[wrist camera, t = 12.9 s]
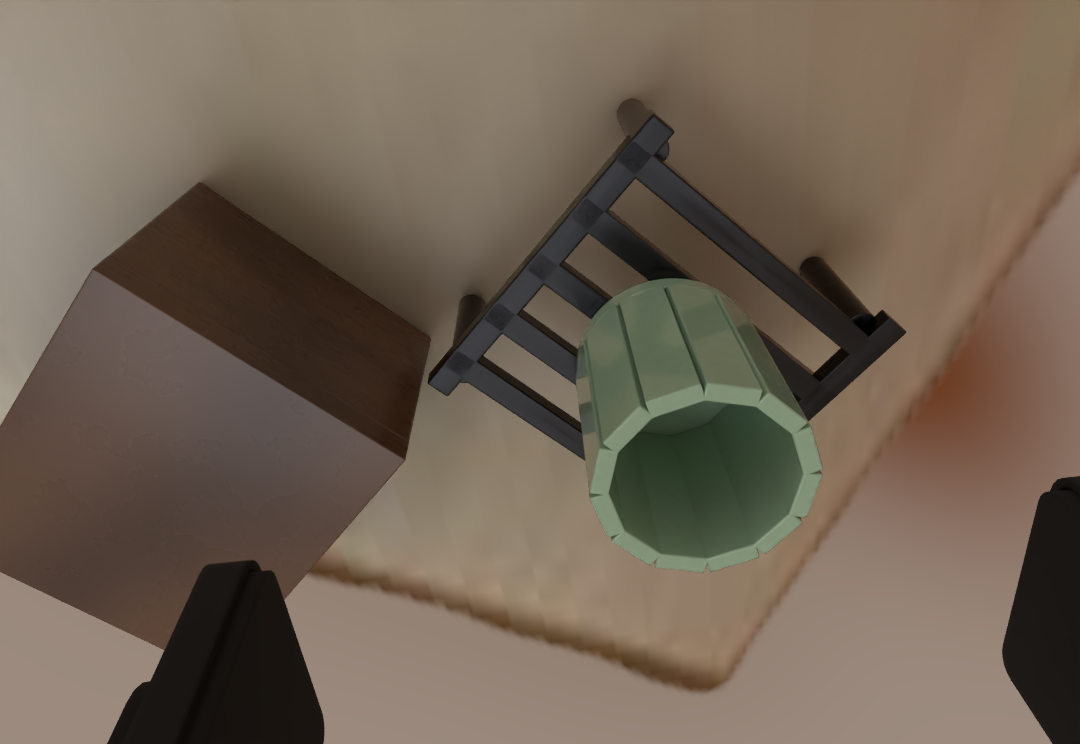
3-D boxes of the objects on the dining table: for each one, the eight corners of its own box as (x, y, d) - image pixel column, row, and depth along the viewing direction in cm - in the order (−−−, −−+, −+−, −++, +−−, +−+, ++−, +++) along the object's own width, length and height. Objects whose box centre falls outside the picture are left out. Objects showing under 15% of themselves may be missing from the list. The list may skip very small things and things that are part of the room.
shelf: (60, 405, 40) (-68, 540, 32) (199, 181, 35) (92, 268, 27) (278, 525, 44) (218, 676, 35) (431, 338, 39) (405, 460, 30)
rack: (441, 309, 38) (426, 383, 32) (629, 77, 34) (653, 113, 28) (650, 454, 42) (672, 544, 36) (844, 265, 38) (907, 332, 32)
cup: (540, 373, 32) (545, 500, 25) (659, 241, 30) (703, 341, 23) (669, 463, 34) (708, 604, 27) (791, 346, 32) (868, 468, 25)
